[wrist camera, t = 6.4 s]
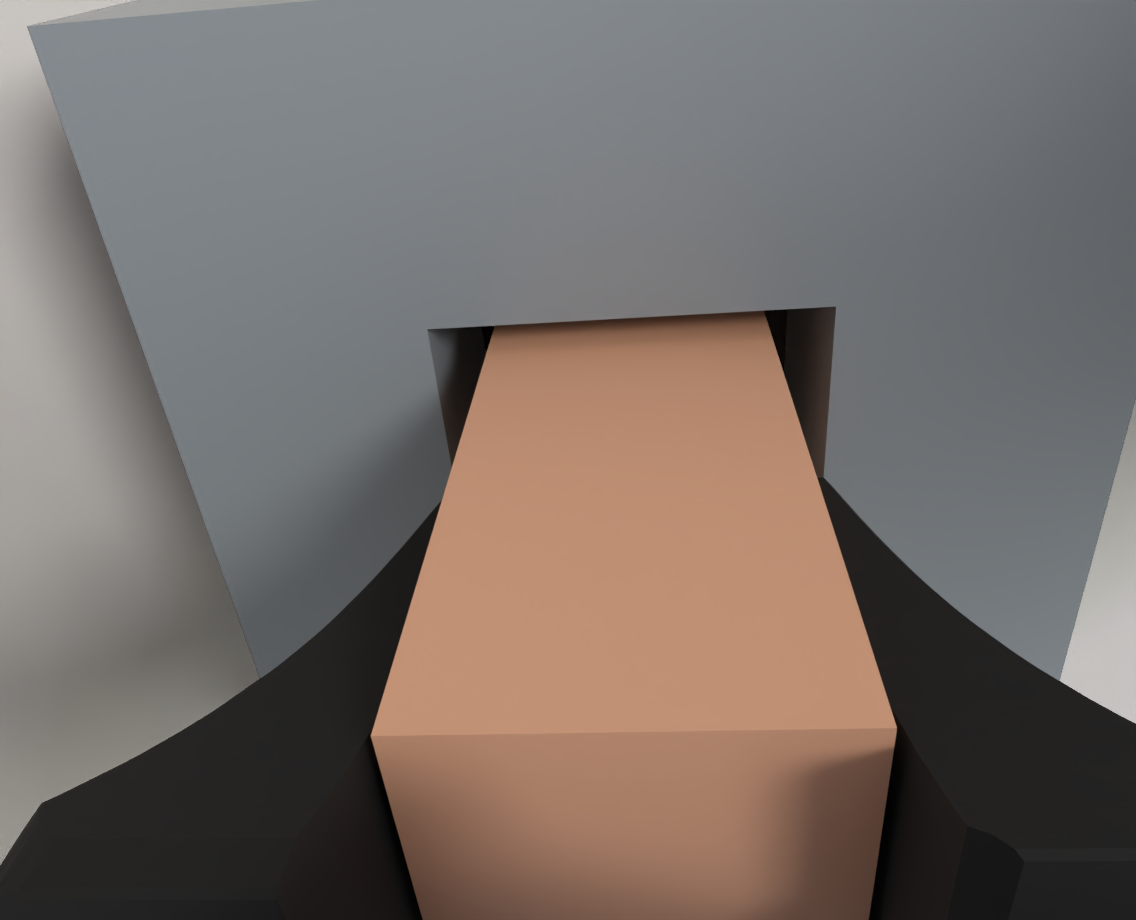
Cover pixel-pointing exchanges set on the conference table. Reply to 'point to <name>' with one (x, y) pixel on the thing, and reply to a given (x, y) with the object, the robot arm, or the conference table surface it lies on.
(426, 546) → the robot arm
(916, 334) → the socket block
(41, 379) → the conference table surface
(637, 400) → the peg
